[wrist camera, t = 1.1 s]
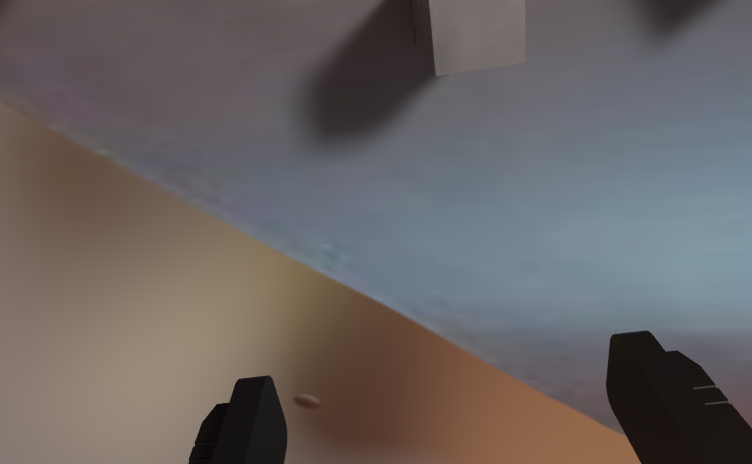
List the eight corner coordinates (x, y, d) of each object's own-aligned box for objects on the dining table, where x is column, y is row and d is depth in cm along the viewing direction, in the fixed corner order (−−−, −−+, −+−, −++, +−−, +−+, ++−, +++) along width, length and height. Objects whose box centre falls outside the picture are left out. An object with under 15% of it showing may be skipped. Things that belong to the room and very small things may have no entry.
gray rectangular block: (480, 35, 35) (525, 62, 26) (415, 45, 35) (435, 76, 26) (477, -38, 33) (524, -39, 23) (408, -27, 33) (426, -23, 24)
